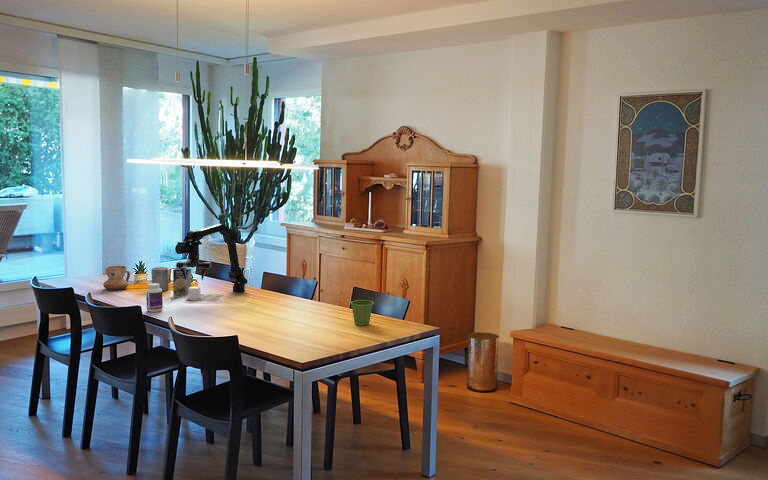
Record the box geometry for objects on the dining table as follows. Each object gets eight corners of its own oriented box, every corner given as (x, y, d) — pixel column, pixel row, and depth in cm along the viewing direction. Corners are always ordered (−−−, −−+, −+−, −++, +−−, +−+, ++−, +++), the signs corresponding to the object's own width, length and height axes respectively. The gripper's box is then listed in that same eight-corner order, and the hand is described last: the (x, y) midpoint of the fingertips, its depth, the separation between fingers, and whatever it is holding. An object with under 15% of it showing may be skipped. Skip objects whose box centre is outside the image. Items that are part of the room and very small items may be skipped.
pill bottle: (166, 310, 355) (165, 283, 353) (155, 313, 347) (154, 286, 346) (154, 308, 358) (153, 282, 356) (143, 311, 351) (142, 284, 349)
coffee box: (172, 296, 392) (172, 269, 390) (177, 294, 398) (176, 267, 396) (187, 297, 391) (187, 270, 389) (191, 295, 397) (191, 268, 395)
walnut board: (224, 296, 394) (224, 294, 394) (216, 303, 374) (216, 301, 374) (193, 296, 394) (193, 294, 394) (184, 303, 374) (184, 300, 374)
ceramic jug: (109, 292, 400) (109, 269, 398) (96, 289, 408) (96, 266, 407) (136, 289, 414) (136, 266, 412) (123, 286, 423) (123, 264, 421)
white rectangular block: (200, 298, 382) (200, 286, 382) (198, 299, 377) (197, 288, 376) (191, 297, 382) (190, 286, 382) (188, 299, 377) (188, 288, 376)
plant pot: (350, 321, 337) (351, 299, 336) (374, 322, 336) (374, 300, 335) (348, 327, 325) (349, 304, 324) (373, 327, 325) (373, 305, 323)
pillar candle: (162, 288, 417) (161, 264, 415) (171, 290, 411) (171, 266, 409) (148, 290, 409) (147, 266, 407) (158, 292, 403) (157, 268, 401)
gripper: (173, 254, 369) (173, 282, 370) (206, 254, 369) (207, 282, 371) (178, 251, 380) (179, 278, 381) (211, 252, 380) (211, 279, 382)
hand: (194, 279), depth 378 cm, fingers open, 9 cm apart
